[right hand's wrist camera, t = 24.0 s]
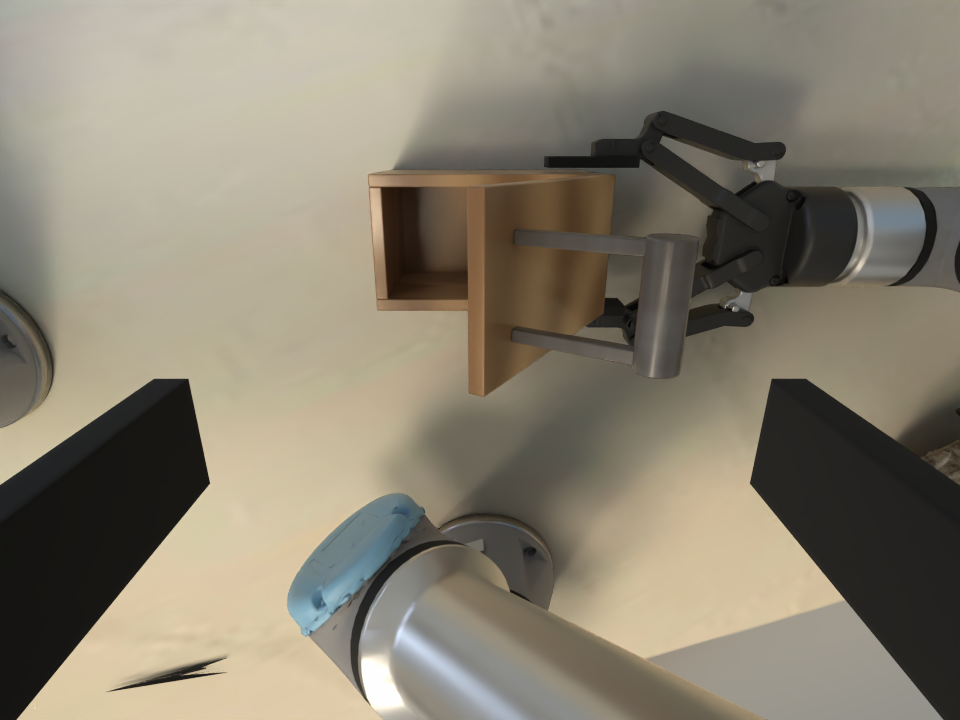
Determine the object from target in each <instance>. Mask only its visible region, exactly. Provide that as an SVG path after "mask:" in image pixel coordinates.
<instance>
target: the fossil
mask: <svg viewBox="0 0 960 720" xmlns="http://www.w3.org/2000/svg"><path fill="white" fill-rule="evenodd" d="M956 413H957V414H958V415H959V416H960V408H959V409H957V410H956ZM920 458H921V459H923V460H924V461H926V462H927V463H928V464H930V465H931V466H933V467H934V468H936V469H937V470H939V471H940V472H941V473H943V474H944V475H946V476H947V477H949V478H950V479H952V480H953V481H954V482H956V483H957V484H959V485H960V439H959V440H957V441H955V442H953V443H951V444H949V445H947V446H945V447H942V448H938V449H936V450H934V451H932V452H930V451H929V452H928V454H927V455H925V456H921V457H920Z"/></svg>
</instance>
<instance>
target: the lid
mask: <svg viewBox="0 0 960 720" xmlns="http://www.w3.org/2000/svg"><path fill="white" fill-rule="evenodd" d="M614 185H615V175H608V174H602V175H591V176H579V177H568V178H557V179H545V180H534V181H522V182H511V183H499V184H488V185H477V186H468V187H467V224H468V367H469V393H470V394H474V395H478V396H482V397H485V396H486V395H488V394H489V393H490V392H492V391H493V390H495V389H496V388H498V387H499V386H500V385H502V384H503V383H505V382H506V381H508V380H509V379H511V378H512V377H513V376H515V375H516V374H518V373H519V372H521V371H522V370H523V369H525V368H526V367H528V366H529V365H531V364H532V363H533V362H535V361H536V360H538V359H539V358H541V357H542V356H543V355H545V354H546V353H548V352H549V351H551V350H556V351H561V352H567V353H572V354H577V355H582V356H588V357H593V358H598V359H603V360H608V361H614V362H619V363H624V364H629V365H632V369H633V371H634V372H636V373H638V374H640V375H642V376H645V377H650V378H656V379H668V378H674V377H676V376H678V375H679V374H680V370H681V363H682V356H683V349H684V342H685V335H686V328H687V321H688V314H689V307H690V300H691V293H692V286H693V279H694V272H695V265H696V258H697V251H698V244H699V238H697V237H694V236H690V235H682V234H651V235H648V236H646V238H644V237H630V236H617V235H610V232H611V220H612V209H613V197H614ZM609 254H619V255H630V256H641V257H644V258H643V268H642V277H641V286H640V295H639V304H638V314H637V323H636V332H635V341H634V346H630V345H624V344H618V343H612V342H607V341H601V340H595V339H589V338H584V337H578V336H572V335H573V334H575V333H576V332H578V331H579V330H581V329H582V328H583V327H585V326H586V325H588V324H589V323H591V322H592V321H593V320H595V319H596V318H598V317H599V316H601V315H602V314H603V313H604V303H605V291H606V279H607V267H608V256H609Z"/></svg>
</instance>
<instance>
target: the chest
mask: <svg viewBox="0 0 960 720" xmlns="http://www.w3.org/2000/svg"><path fill="white" fill-rule="evenodd" d="M591 175H602V173H595V172H589V171H583V170H388V171H383V172H377V173H372V174H368V182H369V197H370V212H371V226H372V241H373V255H374V270H375V284H376V298H377V310H378V311H468V224H467V187H468V186H477V185H488V184H499V183H511V182H522V181H534V180H545V179H557V178H568V177H579V176H591Z"/></svg>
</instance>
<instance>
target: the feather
mask: <svg viewBox="0 0 960 720" xmlns="http://www.w3.org/2000/svg"><path fill="white" fill-rule="evenodd" d="M224 659H226V658H224ZM220 660H223V659H220ZM220 660H217V661H220ZM217 661H213V662H209V663H206V664H202V665H199V666H195V667H192V668H188V669H185V670H181V671H178V672H174V673H171V674H167V675H164V676H160V677H157V678H153V679H150V680H146V681H143V682H139V683H136V684H132V685H129V686H125V687H122V688H118V689H115V690H111V691H116V690H122V689H128V688H134V687H140V686H147V685H153V684H159V683H165V682H171V681H177V680H184V679H190V678H196V677H202V676H208V675H214V674H221V673H208V674H198V673H196V674H195V675H193V674H191V675H185V674H188V673H190V672H194V671H198V670H202V669H206V668H201V667H204V666H207V665H209V664H212V663H215V662H217ZM219 672H220V671H219ZM202 673H203V672H202ZM224 673H227V672H224ZM108 692H110V691H108ZM34 708H36V706H35V707H34Z"/></svg>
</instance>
